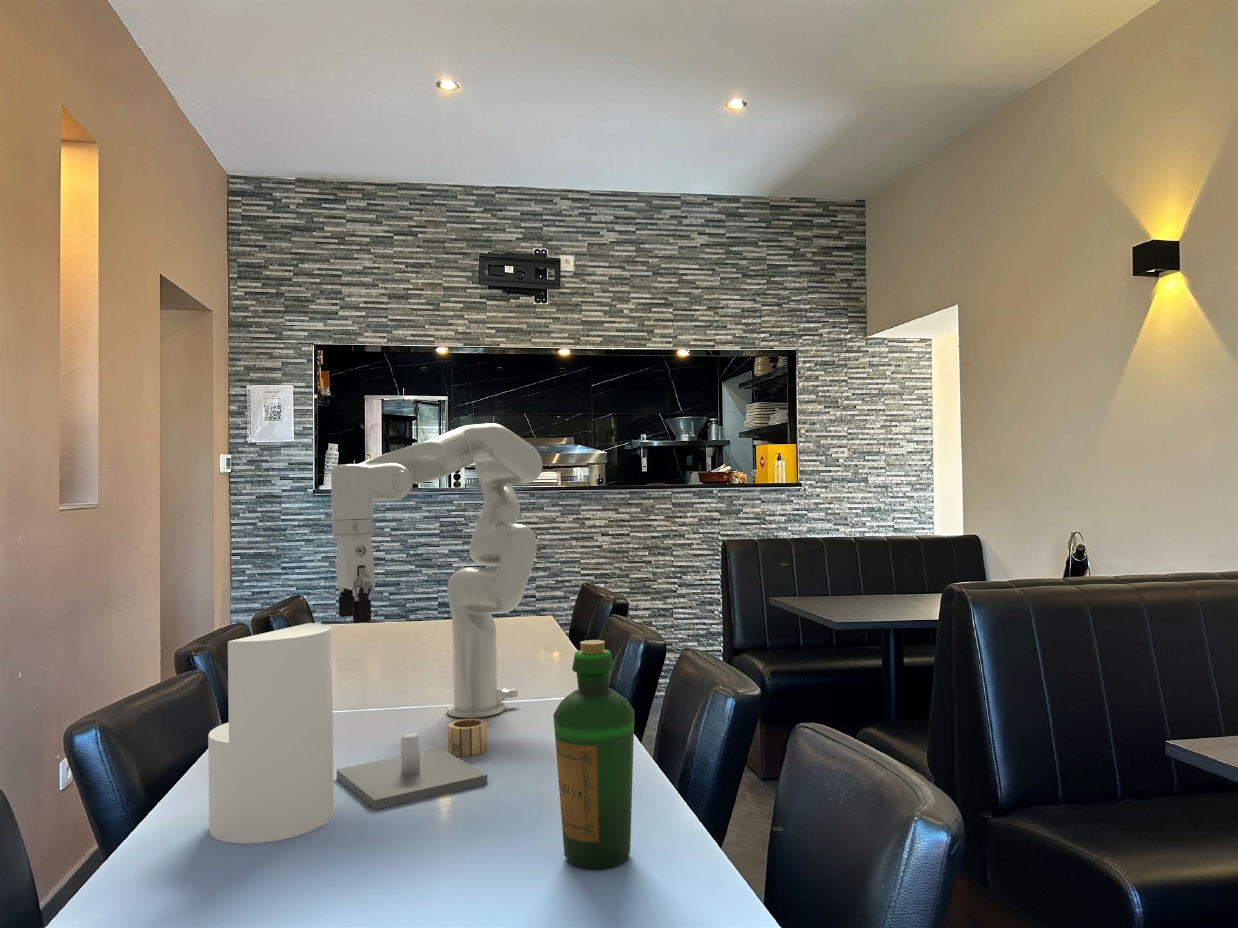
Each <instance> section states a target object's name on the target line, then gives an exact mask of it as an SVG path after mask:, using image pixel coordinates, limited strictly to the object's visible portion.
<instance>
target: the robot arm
mask: <svg viewBox="0 0 1238 928" xmlns="http://www.w3.org/2000/svg"><path fill="white" fill-rule="evenodd" d="M473 464H474V467H475V468H474V469H475V473H476V477H477V479H478V481H479V483H480V486H481V489H482V493H483V506H482V508H481V512H480V515H479V517H478V521H477V523H476V525H475V528H474V531H473V534H472V536H471V538H470V539H471V540H470V543H469V549H468V551H469V552H468V553H469V556H470V558H471V560H473V562H475V563H477V564H479V565H482V566H491V567H480V566H479V567H475V566H472V567H471V566H470V567H463V568H460V569H457V570H456V571H455V572H454V573H453V574H452V575H451V576H450V577H449V580H448V583H447V587H446V589H447V590H446V591H447V592H446V594H447V599H448V603H449V608H450V613H451V623H452V663H453V666H452V667H453V668H452V669H453V703H451V704H450V705H449V704H448V706H447V707H446V713H447V714H448V716H451V717H455V718H462V719H479V718H485V717H491V716H496V715H498V714H500V713H503V712H504V711H505V710H506V705H505V703H504V701H505V700H506V699H513V698H514V699H515V698H518V695H519V692H518V690H517V688H512V689H511V688H510V689H507V688H503V689H502V688H500V687H498V657H497V656H498V655H497V654H498V652H497V650H498V649H497V648H498V647H497V626H496V623H495V621H494V617H493V616H492V613H498V614H500V613H503V614H505V613H509V612H512V611H514V610H515V609H516V608H517V607H518V606H519V604H521V600H522V598H523V597H524V593H525V591H526V588H527V584H528V581H529V579H530V576H531V572H532V569H533V566H534V563H535V560H536V557H537V552H538V551H537V549H538V547H537V546H538V544H537V543H538V542H537V537H536V535H535V532H534V531H533V530H532V529H531V528H530V527H529V526H527V525H525V524H522V523H521V524H520V523H517V522H518V519H519V517H520V512H521V511H520V510H521V506H520V501H519V499H518V496H517V494H516V492H515V490H514V487H513V486H512V485H513V484H514V485H515V484H516V485H517V484H520V485H521V484H530V483H533V482H535V481H536V480H538V478H539V477H540V475H541V473H542V472H543V471H542V470H543V460H542V457H541V454H540V453H539V452H538V450H537V449H536V447H534V446H533V445H532V444H530V443H529V442H528V441H526V440H525V439H524V438H522V437H521V436H519V435H518V434H516V433H514V431H512V430H510V429H508V428H507V427H505V426H503V425H501V424H498V423H495V422H494V423H492V422H491V423H479V424H477V423H476V424H467V425H462V426H459V427H457V428H455V429H451V430H449V431H447V432H445V433H442V434H440V435H437V436H435V437H432V438H430V439H427V440H425V441H421V442H419V443H414V444H412V445H409V446H406V447H402V448H400V449H397V450H393V451H389V452H387V453H384V454H380V455H377V456H375V457H372V458H369V459H366V460H365V461H362V462H360V463H347V464H346V463H345V464H337V465H334V467H333V468H332V469H331V471H330V473H331V475H330V480H331V483H330V484H331V489H330V490H331V530H332V531H331V533H332V536H331V537H332V538H336V564H335V565H336V581H337V583H336V584H337V585H338V587H339V588H338V616H339V617H340V618H346V617H352V621H353V624H354V623H355V624H359V623H360V624H361V623H369V622H371V621H372V603H371V602H372V601H371V600H372V595H371V591H372V589H373V588H374V587H375V585H376V573H375V559H374V547H373V542H372V541H373V540H372V537H373V536H374V503H373V502H395V501H399V500H402V499H404V498H405V497H406V496H408V495H409V493H411V490H412V488H413V484H421V483H427V482H432V481H435V480H440V479H443V478H445V477H447V476H449V475H451V474H453V473H455V472H457V471H460V470H462V469H463V468H466V467H468V466H470V465H473ZM493 566H494V567H493Z"/></svg>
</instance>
